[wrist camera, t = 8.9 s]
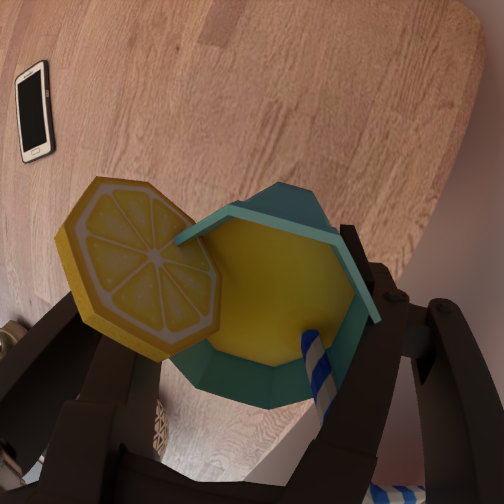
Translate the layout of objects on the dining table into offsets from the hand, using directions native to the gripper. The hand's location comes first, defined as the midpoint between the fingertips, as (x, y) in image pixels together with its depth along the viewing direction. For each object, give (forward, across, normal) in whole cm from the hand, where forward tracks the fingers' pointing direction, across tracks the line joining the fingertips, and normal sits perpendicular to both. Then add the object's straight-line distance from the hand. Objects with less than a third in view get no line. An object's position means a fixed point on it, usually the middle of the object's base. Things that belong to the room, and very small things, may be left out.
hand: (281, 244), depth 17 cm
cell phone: (+16, -37, +13) cm, 42 cm away
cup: (+2, +1, 0) cm, 2 cm away
